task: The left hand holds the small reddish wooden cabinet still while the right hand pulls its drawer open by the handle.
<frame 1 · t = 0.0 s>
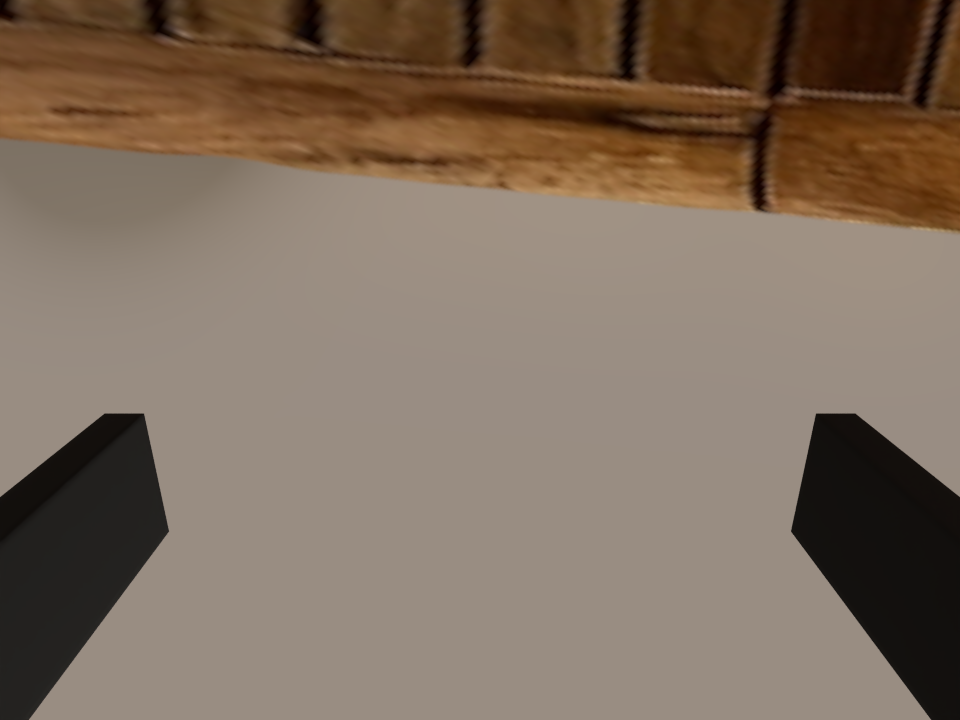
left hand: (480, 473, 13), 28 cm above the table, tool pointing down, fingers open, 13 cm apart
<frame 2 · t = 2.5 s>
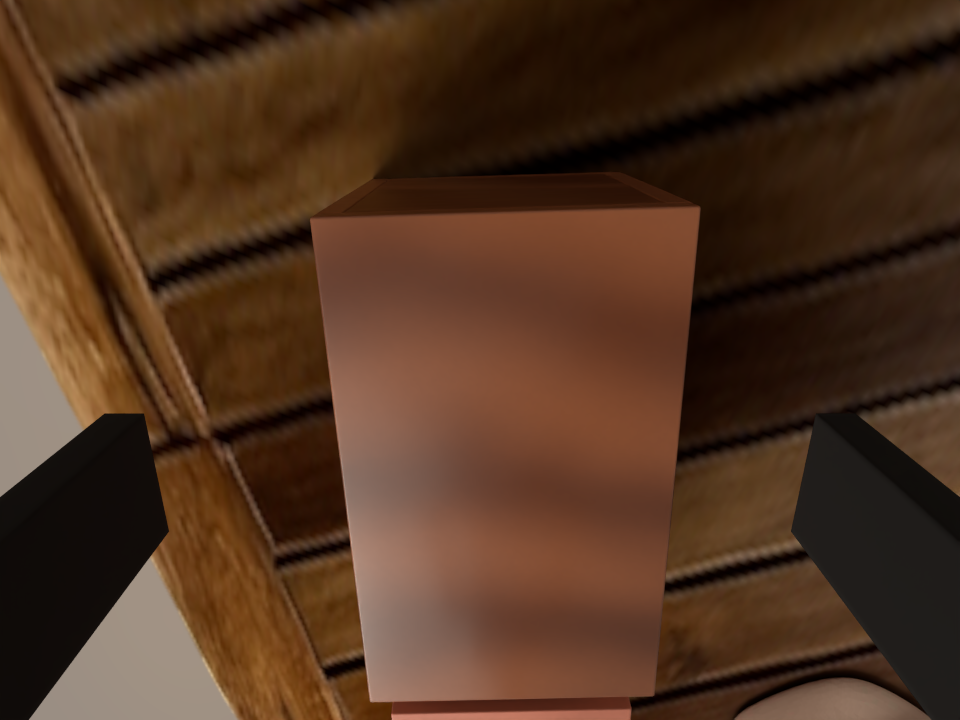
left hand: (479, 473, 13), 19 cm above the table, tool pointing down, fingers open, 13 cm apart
cabinet: (499, 370, 32), on the table
drawer: (505, 542, 29), point 6 cm above the table, slide at 1.7 cm
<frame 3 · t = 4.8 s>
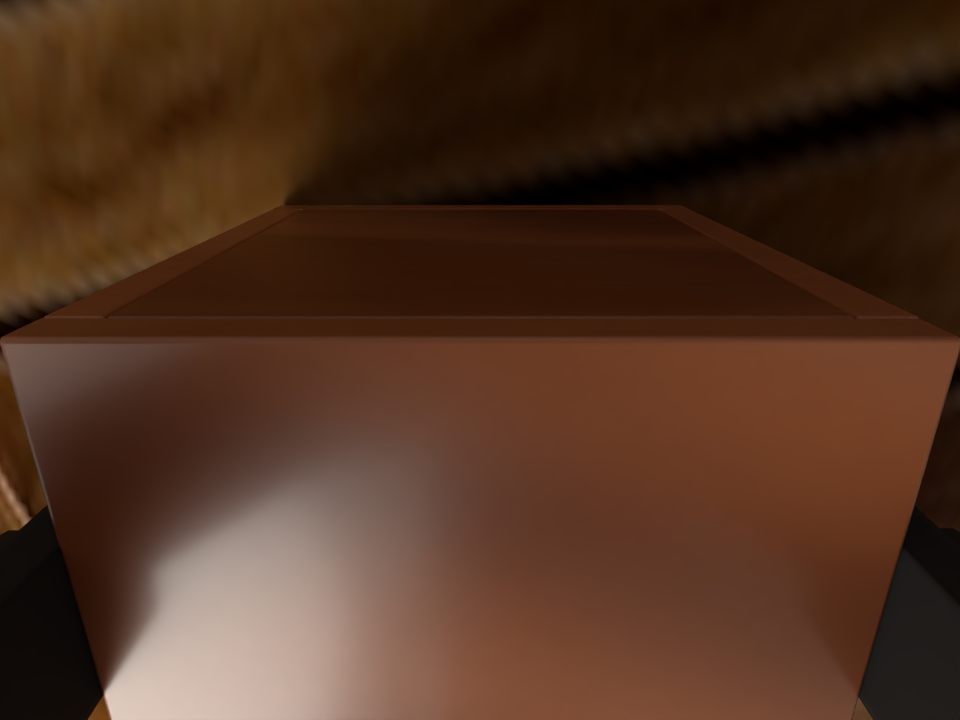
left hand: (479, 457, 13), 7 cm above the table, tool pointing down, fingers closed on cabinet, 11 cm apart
cabinet: (480, 493, 21), on the table, touching left hand
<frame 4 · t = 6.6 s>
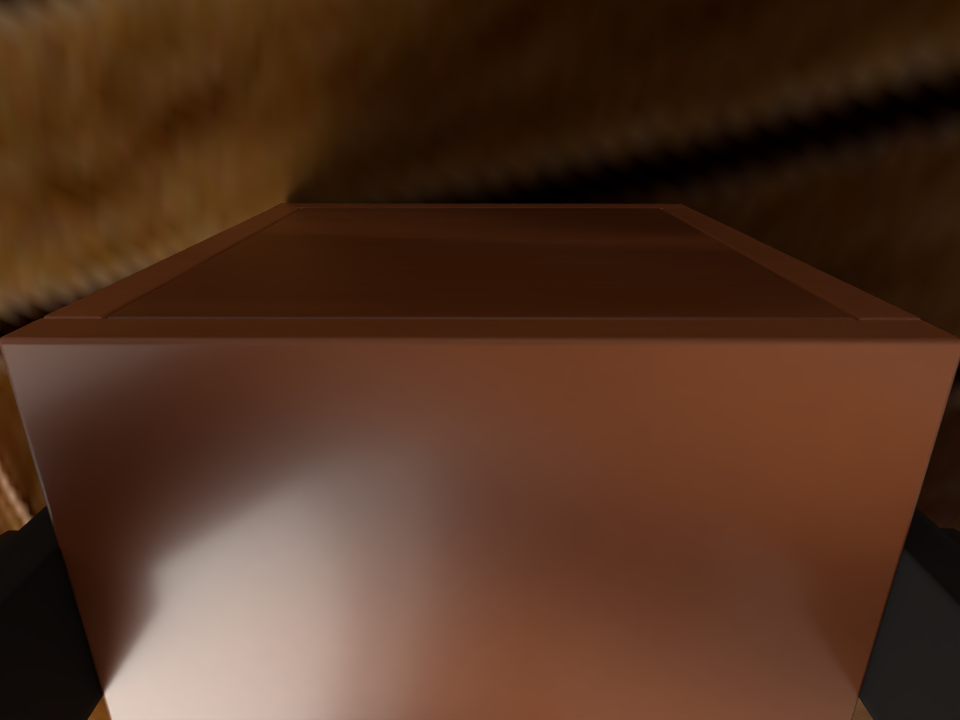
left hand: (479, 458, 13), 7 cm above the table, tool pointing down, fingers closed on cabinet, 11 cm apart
cabinet: (480, 492, 21), on the table, touching left hand
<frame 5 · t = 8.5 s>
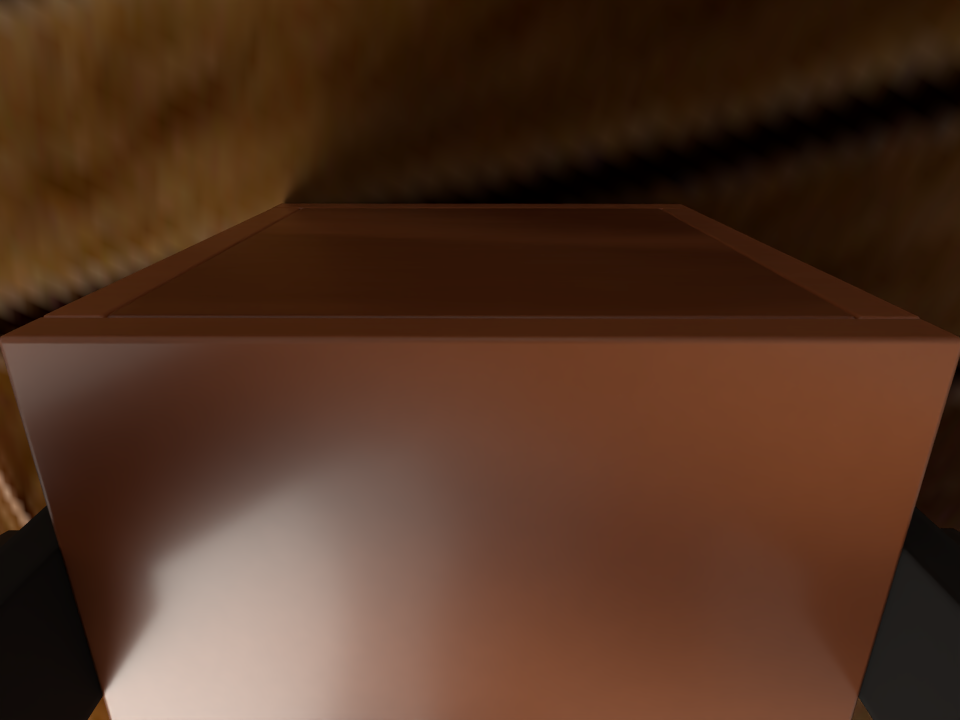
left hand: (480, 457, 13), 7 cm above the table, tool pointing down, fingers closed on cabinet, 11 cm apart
cabinet: (480, 492, 21), on the table, touching left hand
when the left hand's fingers open (7 cm above the table, at t = 10.2 s): cabinet stays where it is, on the table.
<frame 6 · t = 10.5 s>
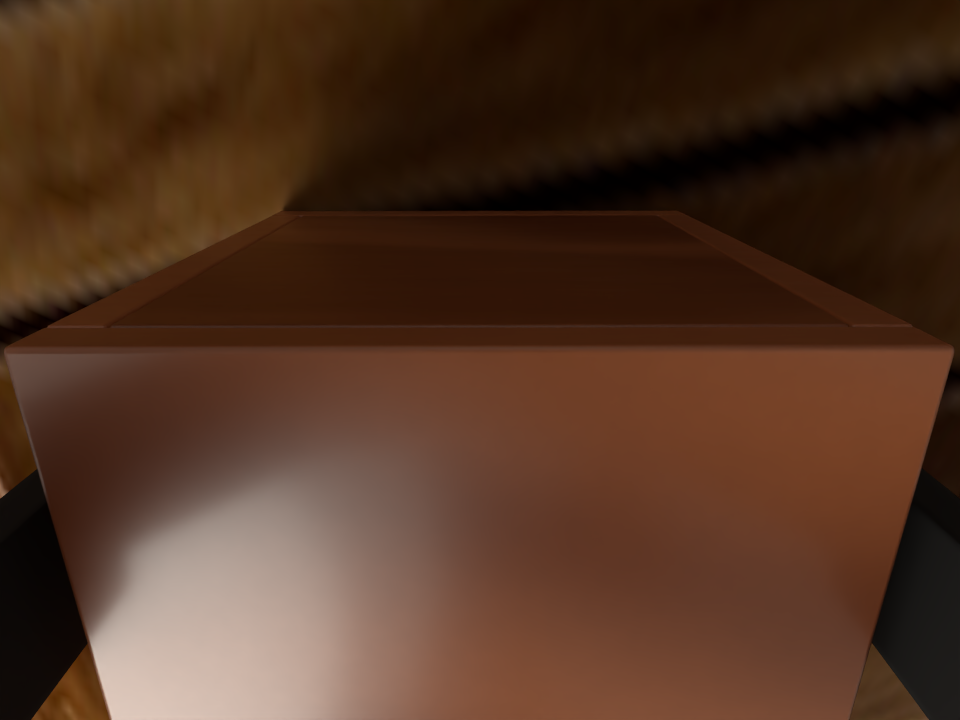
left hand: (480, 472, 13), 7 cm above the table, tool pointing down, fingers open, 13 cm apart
cabinet: (479, 497, 21), on the table
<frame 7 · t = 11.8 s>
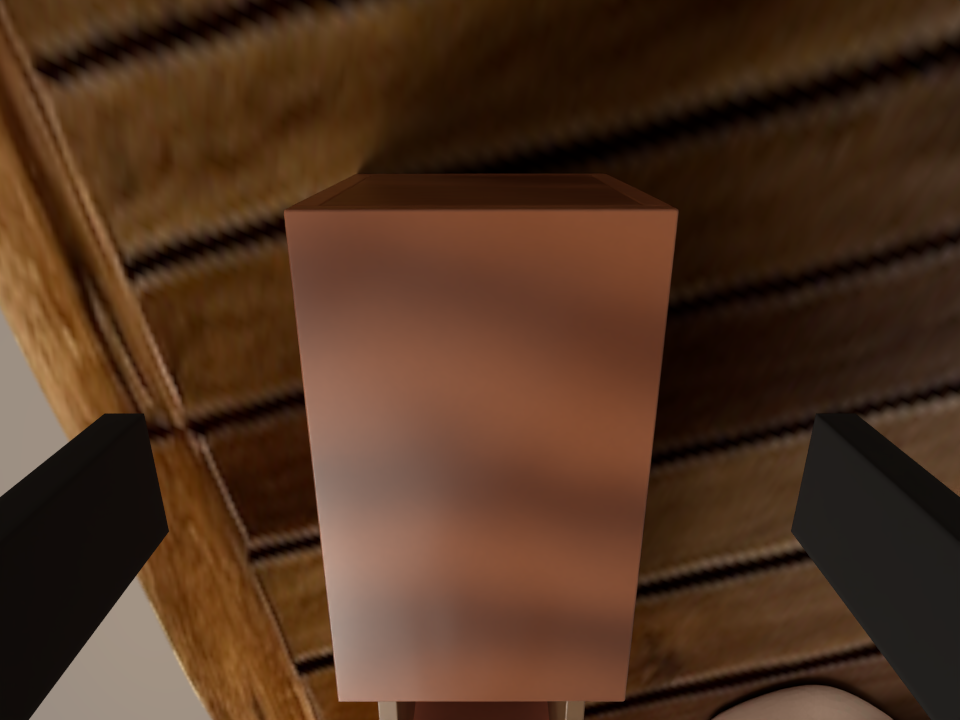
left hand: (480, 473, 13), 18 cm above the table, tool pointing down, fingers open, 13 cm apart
cabinet: (480, 369, 32), on the table
drawer: (481, 666, 32), point 6 cm above the table, slide at 9.1 cm
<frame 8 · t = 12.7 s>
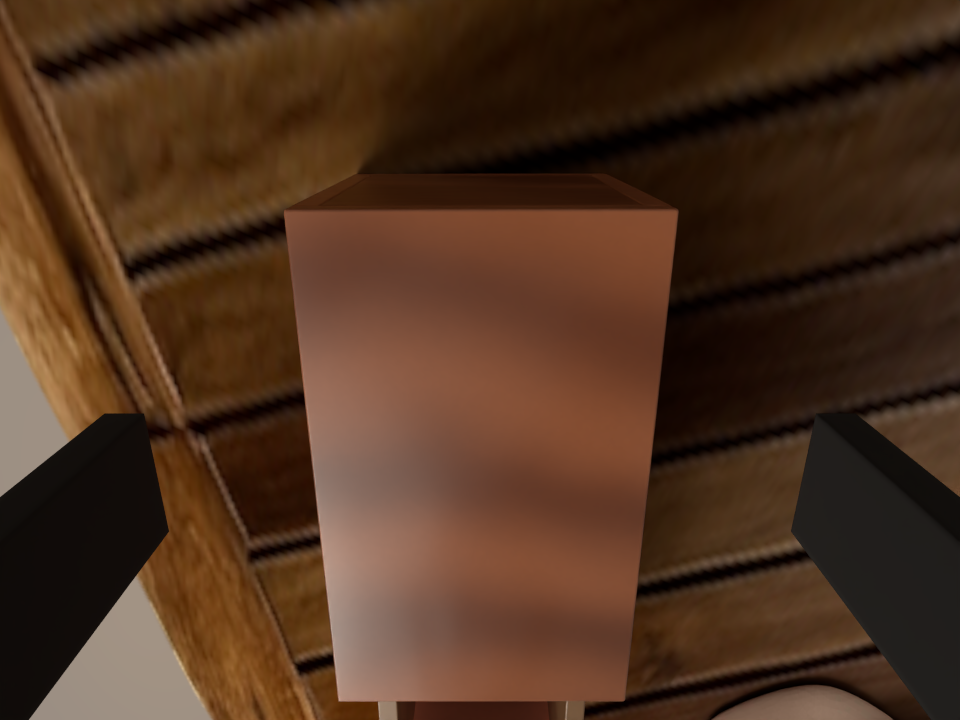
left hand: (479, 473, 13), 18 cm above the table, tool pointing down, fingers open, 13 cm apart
cabinet: (480, 369, 32), on the table
drawer: (481, 666, 32), point 6 cm above the table, slide at 9.1 cm
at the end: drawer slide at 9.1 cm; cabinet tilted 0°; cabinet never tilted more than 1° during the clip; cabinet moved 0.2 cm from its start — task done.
